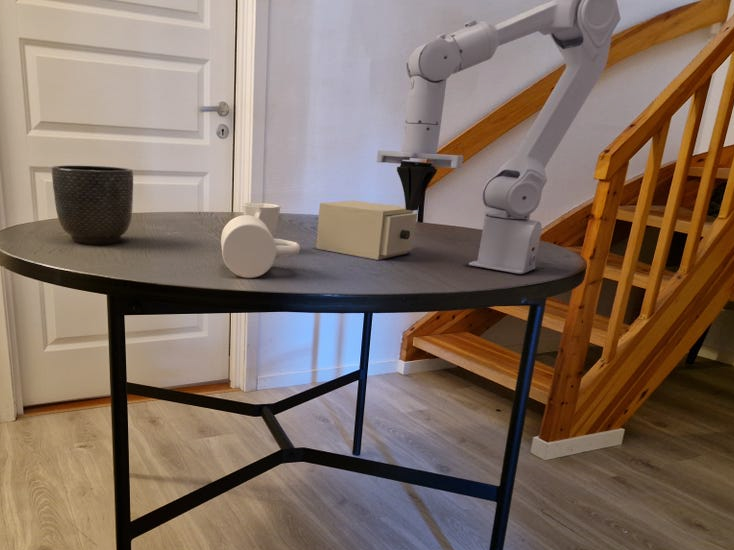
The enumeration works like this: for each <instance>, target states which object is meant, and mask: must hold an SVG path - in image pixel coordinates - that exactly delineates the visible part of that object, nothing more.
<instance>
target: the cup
mask: <svg viewBox="0 0 734 550" xmlns="http://www.w3.org/2000/svg"><path fill="white" fill-rule="evenodd" d="M241 207H242V215H250V216H254V217H256V218H258V219H260V220H261V221H262V222H263V223H264V224H265V225H266V226H267V228H268V230H269V231H270V233H271V235H272V236H273V238H275V235H276V232H277V231H276V230H277V226H278V221H279V216H280V212H281V206H280V205H278V204H273V203H266V202H246V203H242V206H241Z"/></svg>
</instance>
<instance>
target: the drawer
mask: <svg viewBox="0 0 734 550" xmlns="http://www.w3.org/2000/svg"><path fill="white" fill-rule="evenodd" d="M417 219H418V213H415V212H413V213H408V214H403V213H402V214H394V215H391V216H385V218H384V227H383V236H382V245H381V254H380V255H385V256H387V255H391V254H396V253H400V252H405V251H408V252H409V251H412V250H413V249H414V240H415V234H416V233H415V232H416V225H417Z"/></svg>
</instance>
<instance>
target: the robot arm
mask: <svg viewBox="0 0 734 550" xmlns="http://www.w3.org/2000/svg"><path fill="white" fill-rule="evenodd" d="M621 19H622V17H621V14H620V10H619V6H618V1H617V0H550V1H548V2H545V3H542V4H540V5H537V6H535V7H533V8H531V9H528V10H525V11H524V12H522V13H519V14H517V15H514V16H512V17H510V18H508V19H506V20H503V21H501V22H499V23H496V24H495V25H493V24H490V23H488V22H487V21H484V20H480V21H478V22H477V20H476V19H473V20H471V21H467V22H466V23H464V27H463V28H461V29H459V30H457V31H454V32H451V33H449V34H446V33H445V32H443V33H441V34H439V35H437V36H436V38H435V39H434V40H433V41H430V42H427V43H425V44H421V45H420V46H417V47H416V48H415V49H414V50H413V51H412V53H411V55H410V56H409V59H408V62H406V63H405V64H406V65H405V70H406V73H407V76H408V78H409V79H410V81H409V89H408V95H407V103H406V111H405V118H404V119H405V120H404V129H403V137H402V146H401V151H395V150H377V155H376V163H381V164H383V163H387V164H399V166H397V167H396V173H397V174H398V177H399V180H400V183H401V187H402V189H403V190H402V191H403V196H404V205H405V206H404V207H406V210H412V211H413V212H415V211H419V208H420V205H421V203H422V202H421V201H422V199H423V197H424V194H425V192H426V190H427V189H428V187H429V185H430V183H431V182H432V180H433V178H434V177H435V176H436V174H437V172H438V168H449V169H450V168H451V169H462V167H463V160H464V155H455V154H444V153H443V154H441V153H438V149H439V148H438V147H439V141H440V133H441V125H442V119H443V109H444V103H445V97H446V89H447V80H448V79H449V78H450V77H451V76H452V75H454V74H458V73H460V72H462V71H464V70H467V69H469V68H472V67H474V66H476V65H479V64H482V63H484V62H487V61H489V60H491V59H492V58H493V56H494V55H495V53H496V51H497V50H498V47H500V46H502V45H503V46H504V45H505V44H508V43H510V42H513V41H516V40H518V39H521V38H524V37H526V36H529V35H532V34H534V33H537V32H539V34H541V35H543V36H547V35H549V36H550V38H551V40H552V41H553V44H555V46H556V48H557V50H558V51H559V53H560V54H561V56H562V58H563V59H564V63H565V68H564V71H563V72H562V74H561V75H560V77H559V79H558V81H557V83H556V84H555V86H554V88H553V90H552V91H551V93H550V95H549V96H548V98H547V99H546V101H545V103H544V105H543V106H542V109H541V110H540V111H539V114H538V115H537V117H536V118H535V120H534V122H533V123H532V125H531V127H530V129H529V130H528V133H526V136H525V137H524V138H523V141H522V142H521V144H520V146H519V148H518V149H517V151H516V152H515V154H514V155H513V156H512V157H511V158H510V159H508V160H507V161H506V162H505V163H503V164H502V165H501V166H500V168H499V169H498V171H497V172H496V173H495V175H494V176H492V177H491V178H489V179H488V180H487V181H486V183H485V184H484V186H483V188H482V191H481V200H482V203H483V205H484V206H485V207H486V208H485V214H484V218H483V219H484V220H483V225H482V232H481V237H480V243H479V249H478V255H477V260H473V261H470V262H468V266H472V267H476V268H483V269H488V270H494V271H500V272H505V273H506V272H507V273H511V274H518V275H524V274H526V273H528V272H530V271H532V270H535V269H536V268H537V267H536V261H537V257H538V252H539V248H540V247H539V246H540V242H541V237H542V223H541V221H539V220H533V219H530V217H531V214H533V213H534V212H535V211H536V210H537V208H538V207H539V205H540V203H541V198H542V193H543V190H544V187H545V186H546V183H547V182H548V177H547V174H546V173H547V172H546V167H547V165H548V163H549V162H550V160H552V159H551V158H552V157H553V155H554V154H555V152H556V150H557V148H558V147H559V145H560V144H561V142H562V140H563V139H564V137H565V135H566V134H567V132H568V130H569V129H570V127H571V126H572V124H573V122H574V121H575V119H576V117H577V116H578V114H579V112H580V111H581V109H582V107H583V105H584V104H585V102H586V100H587V99H588V97H589V96H590V94H591V92H592V90H593V89H594V87H595V86H596V83H597V82H598V81H599V79H600V78H601V75H602V74H603V72H604V70H605V68H606V66H607V64H608V59H609V53H610V49H611V43H612V37H613V33H614V31H615V29H616V28H617V26H618V24H619V23H620V21H621ZM411 159H421V160H426V162H425V161H411ZM437 167H438V168H437Z"/></svg>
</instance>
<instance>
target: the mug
mask: <svg viewBox="0 0 734 550" xmlns="http://www.w3.org/2000/svg"><path fill="white" fill-rule="evenodd" d="M220 244H221V245H220V246H221V247H220V248H221V256H222V260H223V262H224V264H225V266H226V267H227V269H228V270H229V271H230V272H231V273H233V274H234V275H236V276H238V277H241V278H244V279H252V278H258V277H260V276H262V275H264V274H266V273H267V272H268V271H269V270H270V269H271V268H272V266H273V265H274V263H275V261H276V259H277V258H276V257H277V256H293V255H298V254H299V253H300V250H301V246H300V244H299V242H296V241H292V240H287V239H282V238H275V237H274V238H273V236H272V235H271V233H270V231H269V230H268V228H267V226H266V225H265V224H264V223H263V222H262V221H261V220H260V219H258V218H256V217H254V216H250V215H243V214H242V215H238V216H236V217H233V218H232V219H231V220H229V221H228V222H227V223H226V224H225V226H224V227H223V229H222V232H221V236H220Z"/></svg>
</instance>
